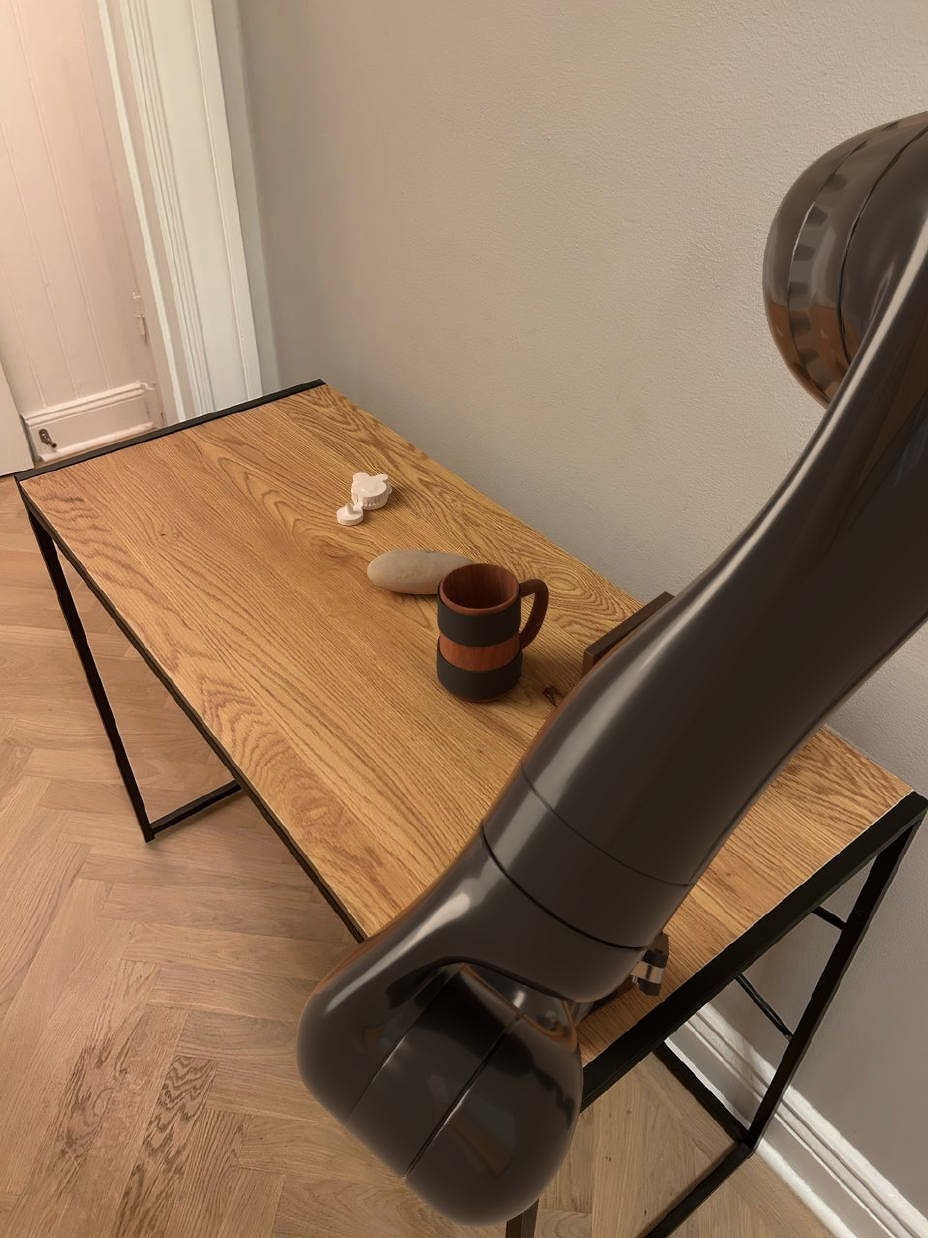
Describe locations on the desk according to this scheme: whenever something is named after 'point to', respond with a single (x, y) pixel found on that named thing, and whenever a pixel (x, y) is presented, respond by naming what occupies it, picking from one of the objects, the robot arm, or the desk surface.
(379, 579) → the stone
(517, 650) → the mug
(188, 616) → the desk surface
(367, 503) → the white rounded lumpy shapes
